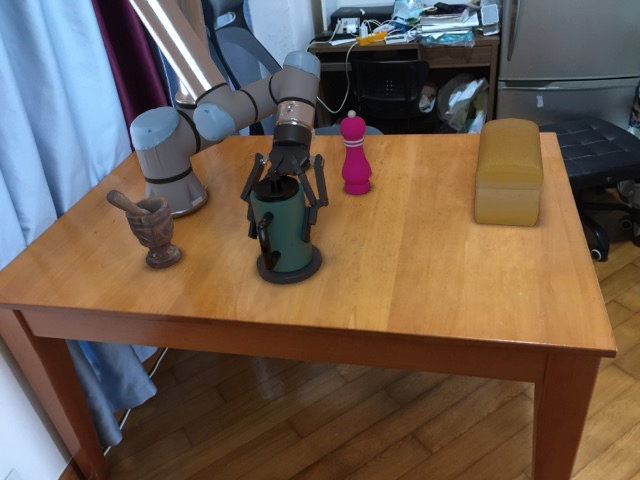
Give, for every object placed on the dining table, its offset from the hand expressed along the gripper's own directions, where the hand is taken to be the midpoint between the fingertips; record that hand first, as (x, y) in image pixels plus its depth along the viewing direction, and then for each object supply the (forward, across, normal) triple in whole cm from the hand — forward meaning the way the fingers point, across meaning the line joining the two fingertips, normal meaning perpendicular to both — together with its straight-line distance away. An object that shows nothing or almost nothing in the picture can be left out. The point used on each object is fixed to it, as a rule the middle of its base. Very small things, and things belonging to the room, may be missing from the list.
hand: (278, 239), depth 104 cm
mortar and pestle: (+6, -28, +6) cm, 29 cm away
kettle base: (+4, 0, +8) cm, 9 cm away
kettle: (+2, 0, +6) cm, 7 cm away
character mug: (-27, -12, +38) cm, 48 cm away
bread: (-19, +41, +30) cm, 54 cm away
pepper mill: (-19, +7, +31) cm, 37 cm away
